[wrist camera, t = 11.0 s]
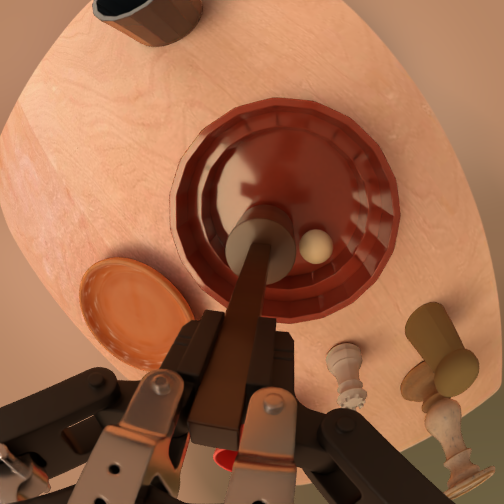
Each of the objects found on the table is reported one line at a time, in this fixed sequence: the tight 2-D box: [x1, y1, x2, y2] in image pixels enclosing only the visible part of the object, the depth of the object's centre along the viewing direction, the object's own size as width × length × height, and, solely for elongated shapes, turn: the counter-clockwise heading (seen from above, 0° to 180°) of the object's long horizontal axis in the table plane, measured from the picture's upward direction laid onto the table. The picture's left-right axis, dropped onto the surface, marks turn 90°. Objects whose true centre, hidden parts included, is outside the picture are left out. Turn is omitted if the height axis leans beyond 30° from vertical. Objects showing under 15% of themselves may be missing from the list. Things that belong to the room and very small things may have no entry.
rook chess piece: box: [326, 343, 367, 411], centre depth 26 cm, size 4×4×8 cm
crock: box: [92, 0, 203, 47], centre depth 15 cm, size 8×8×8 cm
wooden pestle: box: [187, 205, 296, 451], centre depth 15 cm, size 5×5×19 cm
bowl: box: [169, 98, 401, 324], centre depth 22 cm, size 17×17×6 cm
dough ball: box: [299, 229, 333, 264], centre depth 23 cm, size 3×3×3 cm
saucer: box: [79, 257, 195, 372], centre depth 30 cm, size 16×16×3 cm
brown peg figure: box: [405, 302, 479, 397], centre depth 22 cm, size 6×6×11 cm
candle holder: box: [401, 361, 495, 500], centre depth 21 cm, size 9×9×20 cm
